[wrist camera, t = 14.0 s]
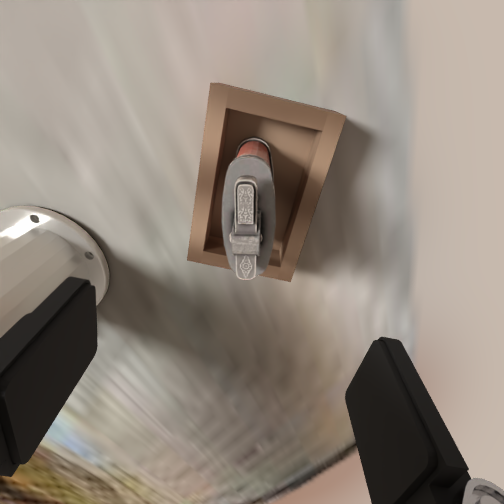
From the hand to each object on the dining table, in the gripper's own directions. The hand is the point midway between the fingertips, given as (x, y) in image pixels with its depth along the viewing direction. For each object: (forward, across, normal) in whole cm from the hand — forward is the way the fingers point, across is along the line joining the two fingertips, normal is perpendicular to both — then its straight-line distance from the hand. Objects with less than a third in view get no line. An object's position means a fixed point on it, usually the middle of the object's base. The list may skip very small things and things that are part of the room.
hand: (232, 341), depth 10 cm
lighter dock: (+19, 0, 0) cm, 19 cm away
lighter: (+18, 0, 0) cm, 18 cm away
